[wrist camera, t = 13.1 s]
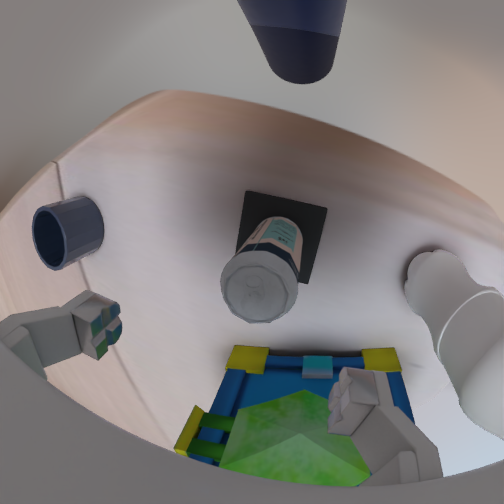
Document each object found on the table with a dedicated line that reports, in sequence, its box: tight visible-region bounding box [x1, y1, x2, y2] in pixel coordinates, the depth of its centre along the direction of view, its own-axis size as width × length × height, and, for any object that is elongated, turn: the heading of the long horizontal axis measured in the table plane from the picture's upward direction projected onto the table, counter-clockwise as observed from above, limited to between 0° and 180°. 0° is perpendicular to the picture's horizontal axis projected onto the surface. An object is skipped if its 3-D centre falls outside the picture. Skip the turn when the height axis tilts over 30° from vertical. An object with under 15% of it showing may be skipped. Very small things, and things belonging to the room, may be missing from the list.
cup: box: [32, 197, 104, 271], centre depth 29 cm, size 8×8×7 cm
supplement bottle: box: [220, 217, 303, 323], centre depth 21 cm, size 5×5×12 cm
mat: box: [235, 191, 327, 284], centre depth 27 cm, size 8×8×1 cm
